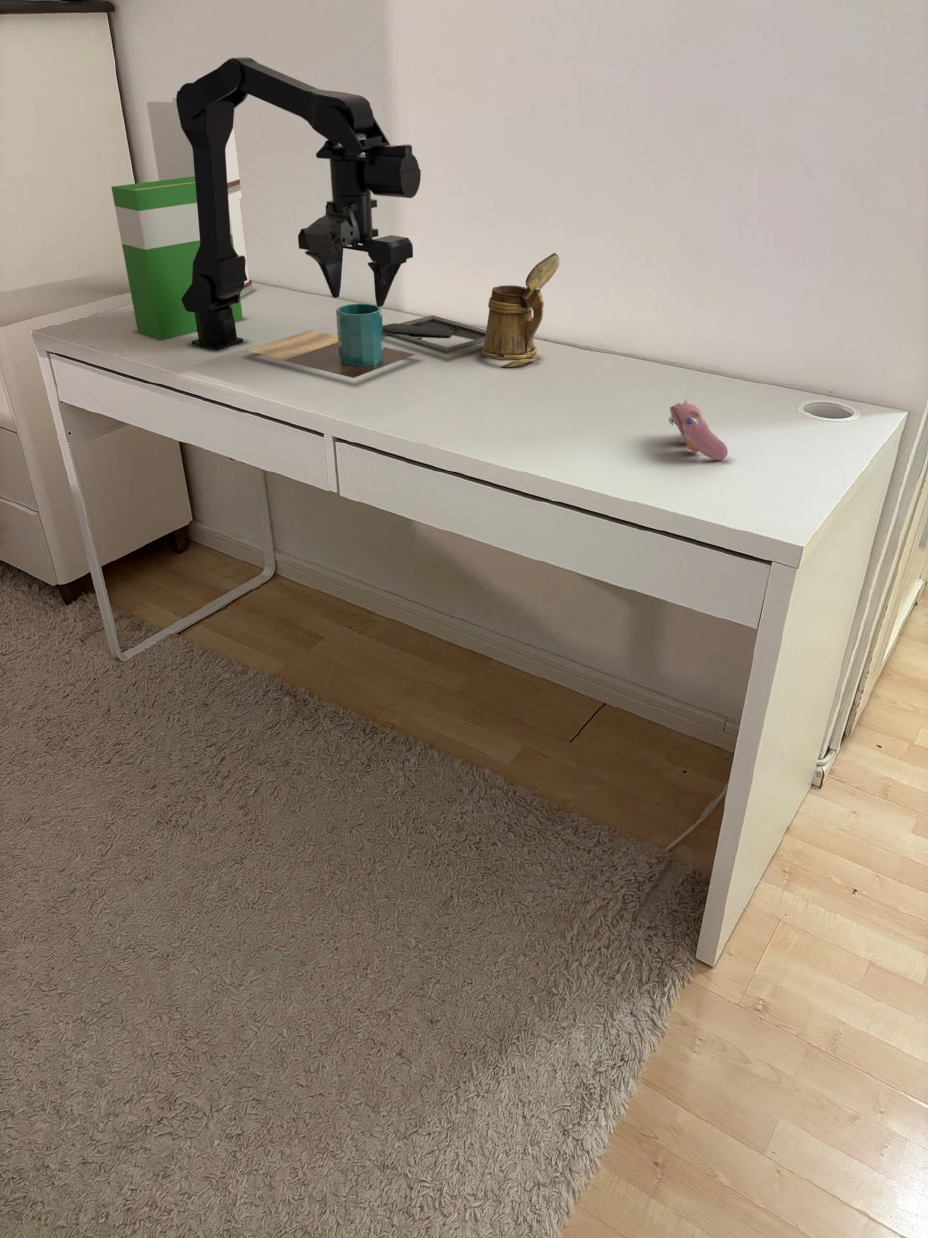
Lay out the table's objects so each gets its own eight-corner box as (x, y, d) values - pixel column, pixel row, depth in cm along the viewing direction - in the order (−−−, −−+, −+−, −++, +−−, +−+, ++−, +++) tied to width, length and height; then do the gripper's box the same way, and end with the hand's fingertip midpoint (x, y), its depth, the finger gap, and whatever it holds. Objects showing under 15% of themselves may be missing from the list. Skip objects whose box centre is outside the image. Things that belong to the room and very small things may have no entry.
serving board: (246, 357, 158) (245, 350, 157) (310, 336, 168) (309, 329, 167) (354, 385, 146) (353, 377, 145) (415, 361, 156) (415, 353, 155)
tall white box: (252, 290, 197) (230, 98, 178) (230, 302, 188) (204, 102, 169) (202, 287, 199) (174, 97, 180) (177, 299, 190) (146, 101, 172)
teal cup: (331, 361, 152) (327, 310, 148) (360, 350, 157) (357, 301, 152) (363, 368, 148) (360, 317, 144) (392, 358, 153) (390, 307, 149)
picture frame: (376, 338, 167) (446, 360, 156) (376, 326, 166) (446, 347, 155) (432, 323, 175) (502, 343, 164) (432, 312, 174) (503, 332, 163)
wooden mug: (531, 377, 148) (535, 257, 139) (470, 359, 157) (470, 244, 147) (567, 365, 154) (574, 248, 144) (507, 347, 162) (509, 236, 152)
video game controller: (677, 445, 129) (659, 401, 125) (708, 429, 128) (691, 385, 125) (698, 474, 121) (679, 428, 117) (732, 458, 120) (714, 411, 116)
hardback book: (219, 312, 182) (200, 175, 169) (242, 319, 178) (225, 179, 165) (137, 331, 171) (111, 186, 158) (160, 339, 167) (135, 191, 154)
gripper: (266, 193, 139) (277, 303, 147) (362, 206, 129) (368, 322, 138) (319, 184, 146) (327, 289, 154) (413, 196, 137) (416, 306, 145)
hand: (357, 301), depth 148 cm, fingers open, 9 cm apart
